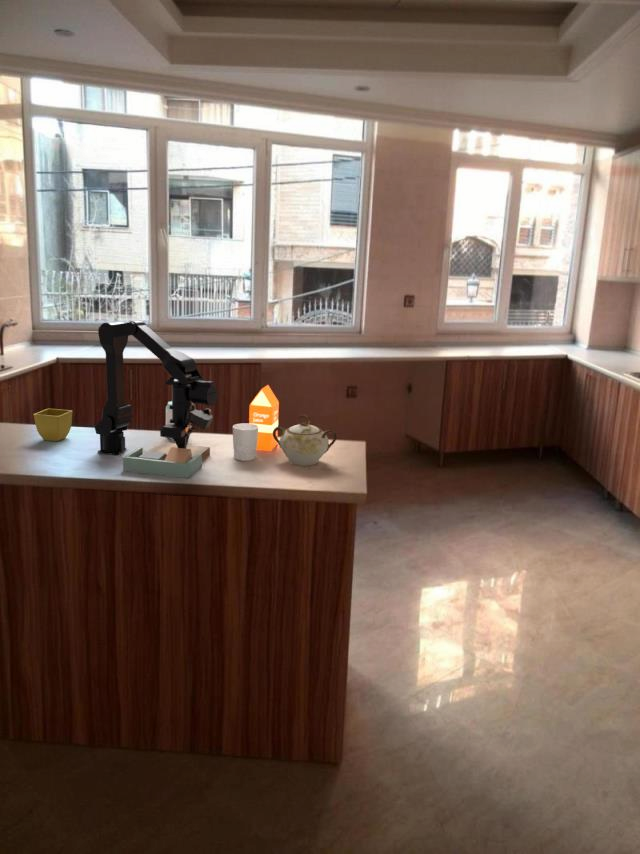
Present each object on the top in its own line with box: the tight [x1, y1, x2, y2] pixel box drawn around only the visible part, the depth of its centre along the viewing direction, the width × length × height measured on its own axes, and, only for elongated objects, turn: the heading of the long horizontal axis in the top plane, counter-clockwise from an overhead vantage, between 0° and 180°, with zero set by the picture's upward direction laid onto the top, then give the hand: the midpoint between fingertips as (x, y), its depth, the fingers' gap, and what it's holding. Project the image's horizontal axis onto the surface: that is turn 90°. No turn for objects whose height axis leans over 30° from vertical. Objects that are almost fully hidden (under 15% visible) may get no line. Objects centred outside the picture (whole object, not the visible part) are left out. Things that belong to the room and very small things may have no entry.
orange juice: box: [248, 384, 280, 452], centre depth 215 cm, size 8×9×20 cm
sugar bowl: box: [273, 414, 337, 467], centre depth 202 cm, size 20×15×15 cm
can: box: [165, 400, 174, 440], centre depth 221 cm, size 7×7×12 cm
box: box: [122, 446, 203, 479], centre depth 190 cm, size 19×11×4 cm, turn 80°
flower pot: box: [33, 408, 73, 442], centre depth 212 cm, size 9×9×9 cm
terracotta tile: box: [164, 447, 192, 463], centre depth 191 cm, size 6×6×2 cm
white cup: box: [232, 422, 259, 462], centre depth 204 cm, size 8×8×10 cm
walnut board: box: [147, 441, 211, 462], centre depth 201 cm, size 16×12×2 cm
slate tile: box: [138, 450, 166, 461], centre depth 193 cm, size 6×6×2 cm
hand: (182, 453), depth 193 cm, fingers closed
